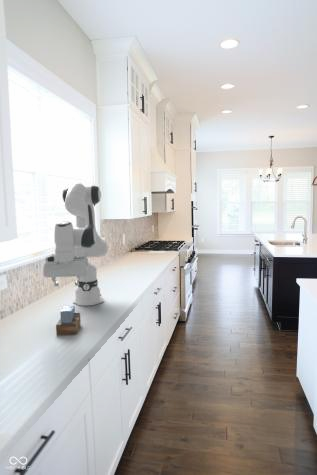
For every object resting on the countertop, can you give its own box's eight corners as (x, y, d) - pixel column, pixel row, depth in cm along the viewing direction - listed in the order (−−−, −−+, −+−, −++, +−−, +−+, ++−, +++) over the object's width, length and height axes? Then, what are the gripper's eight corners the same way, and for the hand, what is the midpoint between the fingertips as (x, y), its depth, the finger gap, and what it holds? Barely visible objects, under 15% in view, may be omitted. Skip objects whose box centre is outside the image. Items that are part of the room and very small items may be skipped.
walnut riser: (62, 326, 166) (61, 312, 165) (80, 325, 166) (80, 311, 166) (56, 335, 154) (55, 320, 153) (76, 334, 154) (75, 319, 154)
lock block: (64, 318, 162) (64, 306, 162) (75, 317, 163) (74, 305, 162) (60, 323, 154) (60, 311, 154) (71, 323, 155) (71, 310, 154)
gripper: (88, 255, 159) (89, 283, 161) (45, 256, 158) (46, 284, 160) (86, 257, 153) (88, 286, 154) (41, 258, 152) (43, 288, 153)
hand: (66, 285), depth 157 cm, fingers open, 8 cm apart
